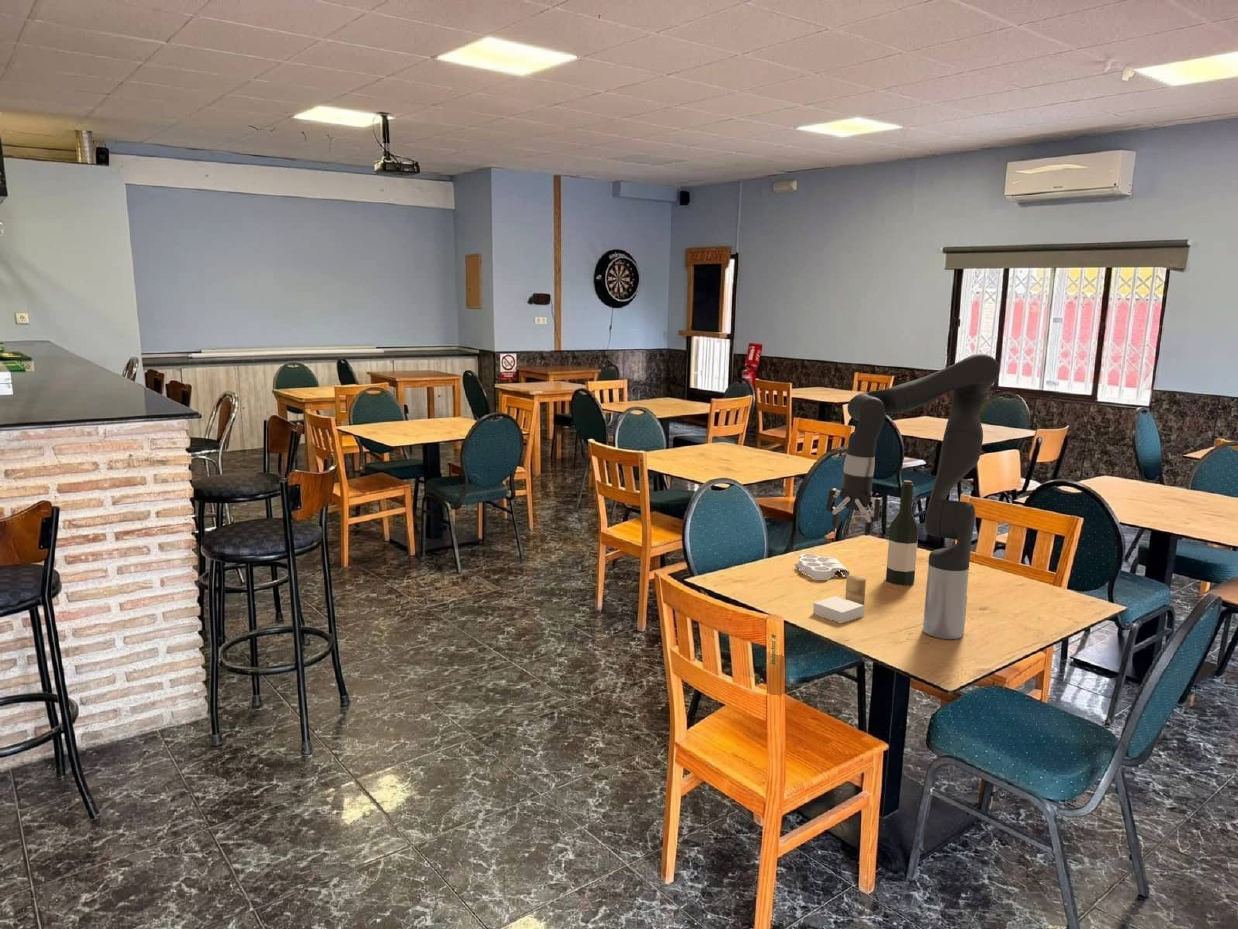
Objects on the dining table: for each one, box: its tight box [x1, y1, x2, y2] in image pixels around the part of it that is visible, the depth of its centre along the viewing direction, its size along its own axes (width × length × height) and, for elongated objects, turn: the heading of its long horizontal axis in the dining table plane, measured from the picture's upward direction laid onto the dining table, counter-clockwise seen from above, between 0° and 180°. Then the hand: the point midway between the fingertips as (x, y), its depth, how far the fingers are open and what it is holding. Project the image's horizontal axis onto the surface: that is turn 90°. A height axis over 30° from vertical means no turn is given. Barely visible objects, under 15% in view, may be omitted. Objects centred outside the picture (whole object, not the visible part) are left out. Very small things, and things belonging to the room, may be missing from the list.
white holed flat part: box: [793, 553, 851, 581], centre depth 252 cm, size 3×18×15 cm
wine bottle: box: [885, 479, 920, 587], centre depth 242 cm, size 8×8×30 cm
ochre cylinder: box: [844, 575, 867, 606], centre depth 224 cm, size 5×5×7 cm
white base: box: [812, 595, 865, 624], centre depth 216 cm, size 9×9×3 cm
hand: (851, 531), depth 219 cm, fingers open, 8 cm apart
